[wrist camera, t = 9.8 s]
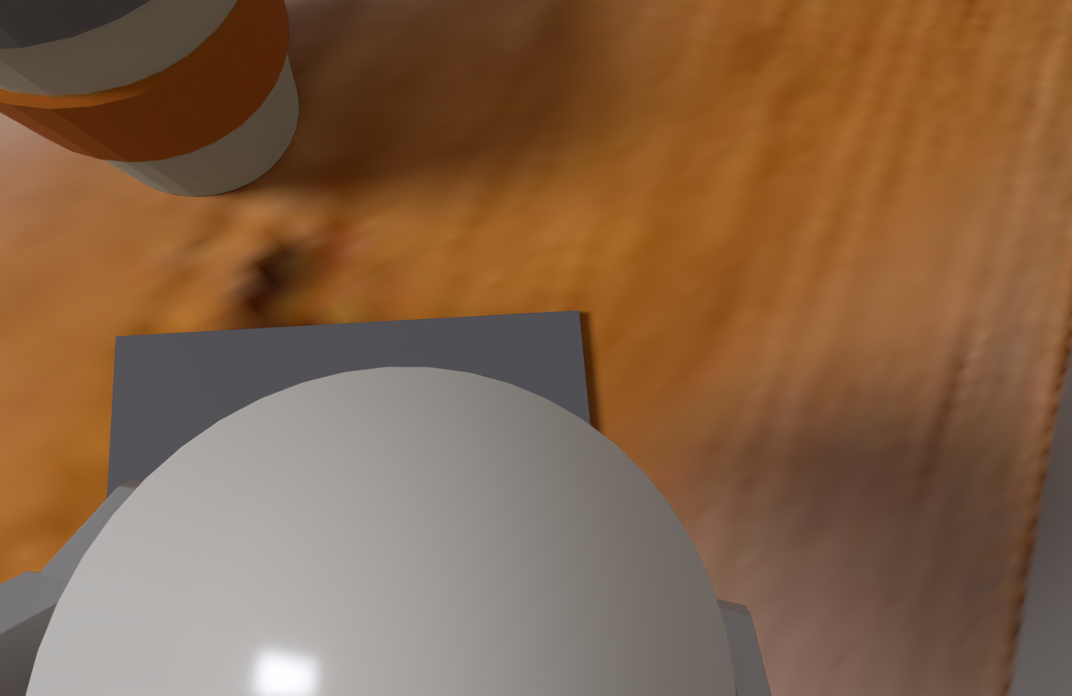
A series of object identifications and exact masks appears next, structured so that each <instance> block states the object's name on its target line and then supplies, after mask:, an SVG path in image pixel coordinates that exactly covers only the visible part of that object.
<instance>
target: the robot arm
mask: <svg viewBox="0 0 1072 696" xmlns="http://www.w3.org/2000/svg"><path fill="white" fill-rule="evenodd" d="M141 483H142V482H139V481H135V480H129V481H127V482H126V483H124V484H122V485H120V486H119V487H117V488H116V489H115V490H114V491H113V493H112V494H111V495H110V496H109V497H108V498H107V499H106V500H105V501H104V502H103V504H102V505H101V506H100V507H99V508H98V509H97V510H96V511H95V512H94V513H93V514H92V516H91V517H90V518H89V519H88V520H87V521H86V522H85V523H84V524H83V525H82V527H81V528H80V529H79V530H78V531H77V532H76V533H75V534H74V535H73V536H72V537H71V539H70V540H69V541H68V542H67V543H66V544H65V545H64V546H63V547H62V548H61V549H60V551H59V552H58V553H57V554H56V555H55V556H54V557H53V558H52V559H51V560H50V562H49V563H48V564H47V565H46V566H45V567H44V568H43V569H42V570H41V571H40V572H32V571H27V572H25V573H22V574H20V575H18V576H16V577H14V578H12V579H10V580H8V581H6V582H4V583H2V584H0V696H26V692H27V689H28V685H29V681H30V678H31V674H32V670H33V667H34V663H35V659H36V656H37V652H38V650H39V647H40V645H41V642H42V640H43V637H44V635H45V632H46V630H47V627H48V625H49V622H50V620H51V617H52V615H53V613H54V610H55V608H56V605H57V603H58V601H59V599H60V597H61V595H62V594H63V592H64V590H65V588H66V586H67V585H68V583H69V581H70V579H71V577H72V575H73V574H74V572H75V570H76V568H77V566H78V565H79V563H80V561H81V559H82V557H83V556H84V554H85V553H86V552H87V550H88V549H89V547H90V546H91V545H92V543H93V542H94V540H95V539H96V538H97V536H98V535H99V533H100V532H101V531H102V529H103V528H104V526H105V525H106V523H107V522H108V521H109V519H110V518H111V516H112V515H113V514H114V513H115V512H116V511H117V510H118V509H119V507H120V506H121V505H122V504H123V503H124V502H125V501H126V500H127V499H128V497H129V496H130V495H131V494H132V493H133V492H134V491H135V490H136V489H137V487H138V486H139V485H140V484H141ZM717 602H718V605H719V608H720V612H721V615H722V618H723V621H724V624H725V628H726V633H727V638H728V643H729V649H730V654H731V659H732V665H733V670H734V678H735V692H736V696H771V693H770V689H769V685H768V681H767V677H766V673H765V669H764V665H763V661H762V657H761V653H760V649H759V645H758V642H757V638H756V634H755V630H754V626H753V622H752V618H751V614H750V612H749V610H748V609H747V607H746V606H745V605H741V604H737V603H732V602H726V601H721V600H717Z"/></svg>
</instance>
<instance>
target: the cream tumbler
mask: <svg viewBox="0 0 1072 696" xmlns="http://www.w3.org/2000/svg"><path fill="white" fill-rule="evenodd" d="M26 696H736V692H735V678H734V670H733V665H732V659H731V654H730V649H729V643H728V638H727V633H726V628H725V624H724V621H723V618H722V615H721V612H720V608H719V605H718V602H717V599H716V596H715V592H714V589H713V586H712V583H711V581H710V579H709V577H708V574H707V572H706V570H705V568H704V566H703V563H702V561H701V559H700V557H699V554H698V552H697V550H696V548H695V546H694V544H693V542H692V540H691V539H690V537H689V535H688V534H687V532H686V530H685V529H684V527H683V525H682V524H681V522H680V520H679V519H678V517H677V515H676V514H675V512H674V510H673V509H672V507H671V506H670V505H669V503H668V502H667V501H666V499H665V498H664V497H663V496H662V494H661V493H660V492H659V491H658V489H657V488H656V487H655V485H654V484H653V483H652V482H651V480H650V479H649V478H648V477H647V475H646V474H645V473H644V472H643V471H642V470H641V469H640V468H639V467H638V466H637V465H636V464H635V463H634V462H633V461H632V460H631V459H630V458H629V457H628V456H627V455H626V454H625V453H624V452H623V451H622V450H621V449H620V448H619V447H618V446H617V445H616V444H614V443H613V442H612V441H610V440H609V439H608V438H606V437H605V436H604V435H603V434H601V433H600V432H599V431H597V430H596V429H595V428H593V427H592V426H591V425H589V424H588V423H587V422H585V421H584V420H583V419H581V418H579V417H578V416H576V415H574V414H573V413H571V412H569V411H567V410H566V409H564V408H562V407H560V406H559V405H557V404H555V403H553V402H552V401H550V400H548V399H546V398H544V397H541V396H539V395H536V394H534V393H532V392H529V391H527V390H524V389H522V388H520V387H517V386H515V385H512V384H510V383H506V382H503V381H499V380H495V379H492V378H488V377H484V376H480V375H477V374H473V373H469V372H461V371H454V370H446V369H439V368H431V367H382V368H374V369H366V370H358V371H349V372H343V373H339V374H335V375H331V376H327V377H323V378H319V379H315V380H311V381H307V382H303V383H300V384H298V385H295V386H292V387H290V388H287V389H285V390H282V391H279V392H277V393H274V394H272V395H269V396H266V397H264V398H261V399H259V400H257V401H255V402H253V403H252V404H250V405H248V406H246V407H244V408H242V409H240V410H238V411H236V412H235V413H233V414H231V415H229V416H227V417H225V418H223V419H221V420H220V421H218V422H217V423H215V424H214V425H212V426H211V427H210V428H208V429H207V430H205V431H204V432H202V433H201V434H199V435H198V436H197V437H195V438H194V439H192V440H191V441H189V442H188V443H186V444H185V445H184V446H182V447H181V448H180V449H179V450H177V451H176V452H175V453H174V454H173V455H172V456H171V457H169V458H168V459H167V460H166V461H165V462H164V463H163V464H162V465H160V466H159V467H158V468H157V469H156V470H155V471H154V472H152V473H151V474H150V475H149V476H148V477H147V478H146V479H145V480H144V481H143V482H142V483H141V484H140V485H139V486H138V487H137V489H136V490H135V491H134V492H133V493H132V494H131V495H130V496H129V497H128V499H127V500H126V501H125V502H124V503H123V504H122V505H121V506H120V507H119V509H118V510H117V511H116V512H115V513H114V514H113V515H112V516H111V518H110V519H109V521H108V522H107V523H106V525H105V526H104V528H103V529H102V531H101V532H100V533H99V535H98V536H97V538H96V539H95V540H94V542H93V543H92V545H91V546H90V547H89V549H88V550H87V552H86V553H85V554H84V556H83V557H82V559H81V561H80V563H79V565H78V566H77V568H76V570H75V572H74V574H73V575H72V577H71V579H70V581H69V583H68V585H67V586H66V588H65V590H64V592H63V594H62V595H61V597H60V599H59V601H58V603H57V605H56V608H55V610H54V613H53V615H52V617H51V620H50V622H49V625H48V627H47V630H46V632H45V635H44V637H43V640H42V642H41V645H40V647H39V650H38V652H37V656H36V659H35V663H34V667H33V670H32V674H31V678H30V681H29V685H28V689H27V692H26Z"/></svg>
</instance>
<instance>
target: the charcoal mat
mask: <svg viewBox="0 0 1072 696" xmlns="http://www.w3.org/2000/svg"><path fill="white" fill-rule="evenodd" d="M382 367H431V368H439V369H446V370H454V371H461V372H469V373H473V374H477V375H480V376H484V377H488V378H492V379H495V380H499V381H503V382H506V383H510V384H512V385H515V386H517V387H520V388H522V389H524V390H527V391H529V392H532V393H534V394H536V395H539V396H541V397H544V398H546V399H548V400H550V401H552V402H553V403H555V404H557V405H559V406H560V407H562V408H564V409H566V410H567V411H569V412H571V413H573V414H574V415H576V416H578V417H579V418H581V419H583V420H584V421H585V422H587V423H588V424H589V425H590V416H589V406H588V396H587V386H586V376H585V365H584V355H583V345H582V335H581V325H580V314H579V311H562V312H544V313H526V314H508V315H490V316H472V317H454V318H437V319H419V320H401V321H383V322H365V323H347V324H330V325H312V326H294V327H276V328H258V329H240V330H222V331H205V332H187V333H169V334H151V335H133V336H116V345H115V363H114V382H113V400H112V418H111V437H110V455H109V473H108V491H107V498H108V497H109V496H110V495H111V494H112V493H113V491H114V490H115V489H116V488H117V487H119V486H120V485H122V484H124V483H126V482H127V481H129V480H135V481H139V482H143V481H144V480H145V479H146V478H147V477H148V476H149V475H150V474H151V473H152V472H154V471H155V470H156V469H157V468H158V467H159V466H160V465H162V464H163V463H164V462H165V461H166V460H167V459H168V458H169V457H171V456H172V455H173V454H174V453H175V452H176V451H177V450H179V449H180V448H181V447H182V446H184V445H185V444H186V443H188V442H189V441H191V440H192V439H194V438H195V437H197V436H198V435H199V434H201V433H202V432H204V431H205V430H207V429H208V428H210V427H211V426H212V425H214V424H215V423H217V422H218V421H220V420H221V419H223V418H225V417H227V416H229V415H231V414H233V413H235V412H236V411H238V410H240V409H242V408H244V407H246V406H248V405H250V404H252V403H253V402H255V401H257V400H259V399H261V398H264V397H266V396H269V395H272V394H274V393H277V392H279V391H282V390H285V389H287V388H290V387H292V386H295V385H298V384H300V383H303V382H307V381H311V380H315V379H319V378H323V377H327V376H331V375H335V374H339V373H343V372H349V371H358V370H366V369H374V368H382Z"/></svg>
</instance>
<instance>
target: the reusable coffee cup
mask: <svg viewBox="0 0 1072 696" xmlns="http://www.w3.org/2000/svg"><path fill="white" fill-rule="evenodd" d="M288 42H289V29H288V15H287V11H286V6H285V2H284V0H0V112H1V113H2V114H4V115H6V116H8V117H10V118H11V119H13V120H15V121H17V122H18V123H20V124H22V125H24V126H25V127H27V128H29V129H31V130H32V131H34V132H36V133H38V134H39V135H41V136H43V137H45V138H47V139H49V140H51V141H52V142H54V143H56V144H58V145H60V146H62V147H64V148H66V149H68V150H70V151H73V152H76V153H80V154H83V155H87V156H90V157H94V158H97V159H101V160H105V161H107V162H108V163H110V164H112V165H113V166H115V167H117V168H119V169H120V170H122V171H124V172H125V173H127V174H129V175H130V176H132V177H134V178H135V179H137V180H139V181H141V182H143V183H145V184H147V185H148V186H150V187H152V188H154V189H157V190H160V191H164V192H167V193H171V194H174V195H183V196H193V197H197V196H210V195H217V194H221V193H225V192H229V191H233V190H235V189H238V188H240V187H242V186H244V185H247V184H249V183H251V182H253V181H254V180H256V179H257V178H259V177H260V176H261V175H263V174H264V173H266V172H267V171H268V170H269V169H270V168H271V167H272V166H273V165H274V164H275V163H276V162H277V161H278V160H279V159H280V158H281V157H282V155H283V154H284V152H285V151H286V149H287V148H288V146H289V145H290V143H291V140H292V138H293V135H294V133H295V130H296V128H297V122H298V116H299V100H298V93H297V89H296V85H295V81H294V78H293V74H292V70H291V66H290V63H289V59H288V55H287V48H288Z"/></svg>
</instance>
